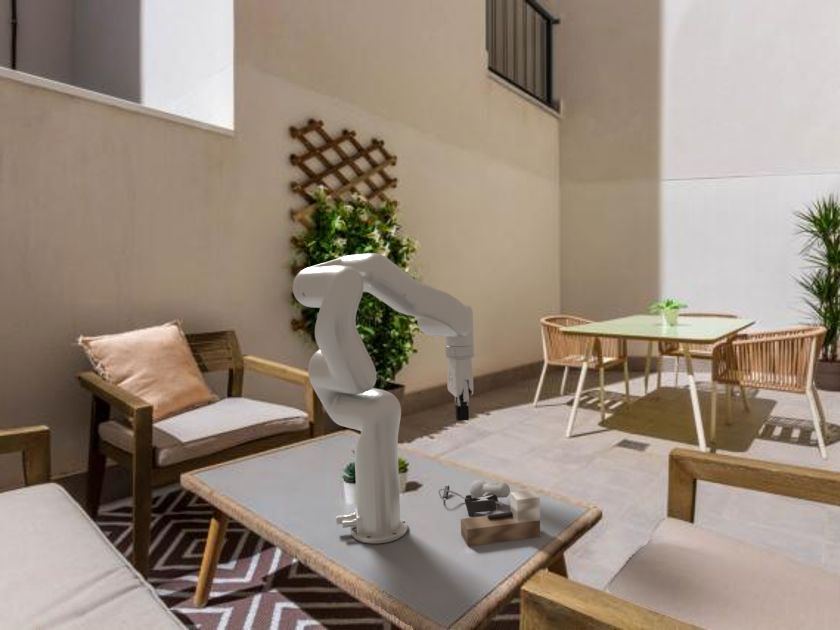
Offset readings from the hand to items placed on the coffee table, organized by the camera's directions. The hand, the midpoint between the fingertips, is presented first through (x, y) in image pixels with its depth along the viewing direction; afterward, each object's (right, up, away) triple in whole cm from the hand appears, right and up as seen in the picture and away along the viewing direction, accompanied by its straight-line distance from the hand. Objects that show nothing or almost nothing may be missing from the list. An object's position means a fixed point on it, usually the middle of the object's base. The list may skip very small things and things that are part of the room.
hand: (462, 419), depth 138 cm
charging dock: (+6, -19, -28) cm, 34 cm away
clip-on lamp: (+1, -19, -12) cm, 22 cm away
